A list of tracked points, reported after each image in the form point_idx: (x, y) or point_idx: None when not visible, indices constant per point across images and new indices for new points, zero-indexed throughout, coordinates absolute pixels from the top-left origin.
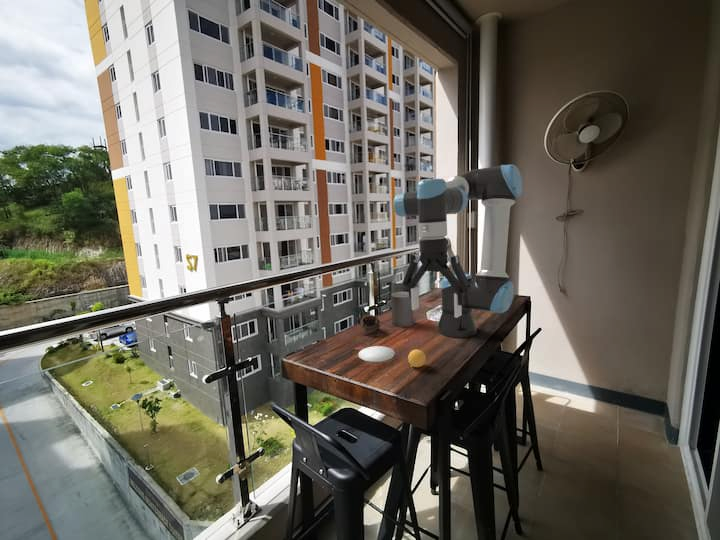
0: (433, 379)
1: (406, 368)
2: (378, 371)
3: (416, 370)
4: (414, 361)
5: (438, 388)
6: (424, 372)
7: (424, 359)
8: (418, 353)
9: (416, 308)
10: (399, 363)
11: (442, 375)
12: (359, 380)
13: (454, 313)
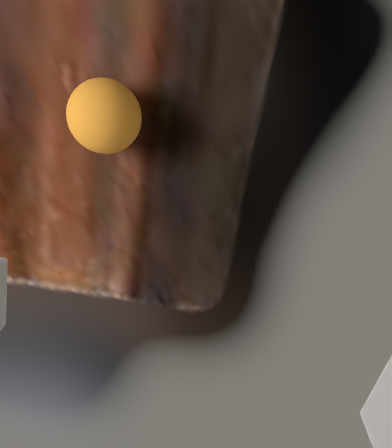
0: (203, 188)
1: None
2: (17, 201)
3: None
4: (110, 153)
5: (233, 235)
6: (158, 151)
7: (139, 123)
8: (110, 136)
9: (2, 294)
10: (45, 115)
11: (224, 149)
12: None
13: (371, 442)
